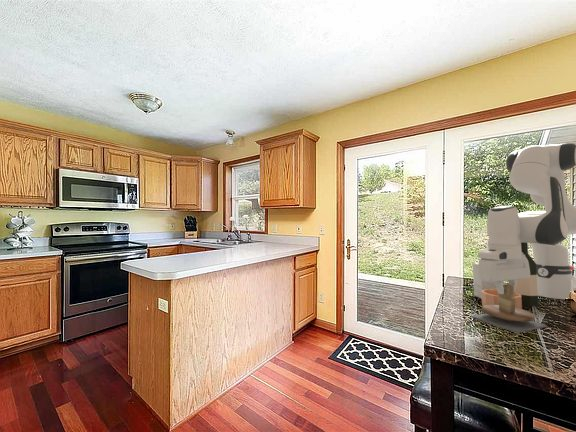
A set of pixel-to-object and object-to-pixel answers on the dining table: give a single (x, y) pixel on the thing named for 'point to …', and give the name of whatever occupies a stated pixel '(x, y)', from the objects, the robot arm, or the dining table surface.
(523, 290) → the wine bottle
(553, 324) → the dining table surface
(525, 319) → the lid
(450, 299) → the dining table surface
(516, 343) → the dining table surface
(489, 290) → the bowl
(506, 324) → the mat
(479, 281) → the skincare box
